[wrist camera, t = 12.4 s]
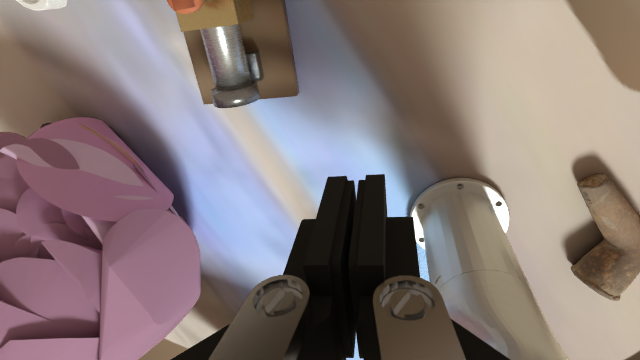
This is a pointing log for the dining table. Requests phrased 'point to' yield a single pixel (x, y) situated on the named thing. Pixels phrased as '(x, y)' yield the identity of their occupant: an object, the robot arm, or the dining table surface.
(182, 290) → the flower arrangement
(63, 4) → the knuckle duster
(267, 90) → the valve board
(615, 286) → the pipe
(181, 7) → the lever
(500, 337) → the robot arm
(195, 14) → the water pipe
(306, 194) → the dining table surface
